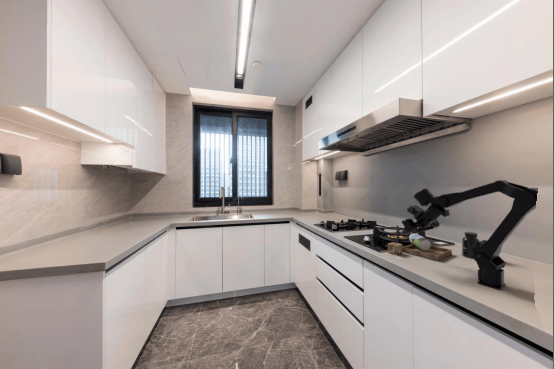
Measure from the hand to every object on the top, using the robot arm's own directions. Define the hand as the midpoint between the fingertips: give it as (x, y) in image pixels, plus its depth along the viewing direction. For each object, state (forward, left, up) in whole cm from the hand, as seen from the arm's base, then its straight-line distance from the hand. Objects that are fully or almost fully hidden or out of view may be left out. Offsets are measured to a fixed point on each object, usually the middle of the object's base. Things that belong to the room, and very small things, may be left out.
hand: (409, 232), depth 118 cm
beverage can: (-2, -11, -9) cm, 15 cm away
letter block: (+9, -1, -13) cm, 16 cm away
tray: (-1, -13, -13) cm, 18 cm away
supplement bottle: (-16, -25, -13) cm, 33 cm away
